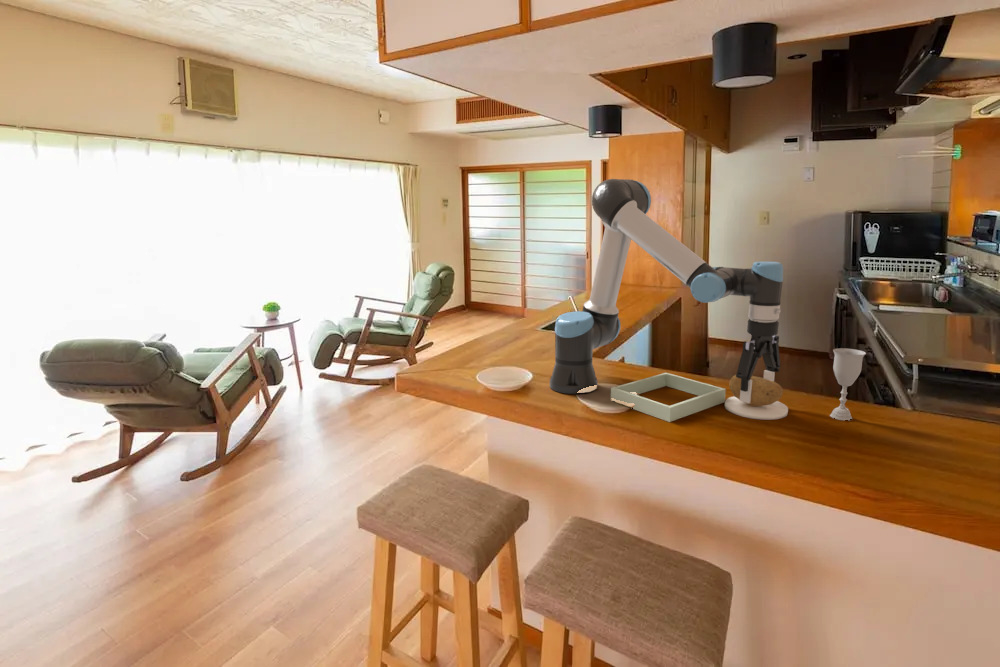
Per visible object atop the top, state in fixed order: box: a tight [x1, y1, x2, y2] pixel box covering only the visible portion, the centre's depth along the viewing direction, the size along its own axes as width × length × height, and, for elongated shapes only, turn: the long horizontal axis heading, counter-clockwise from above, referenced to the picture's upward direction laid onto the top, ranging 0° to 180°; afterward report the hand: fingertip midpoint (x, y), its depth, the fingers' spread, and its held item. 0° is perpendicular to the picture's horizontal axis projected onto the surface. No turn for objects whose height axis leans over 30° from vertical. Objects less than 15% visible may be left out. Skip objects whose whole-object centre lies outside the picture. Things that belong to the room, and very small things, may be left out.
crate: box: [610, 372, 727, 423], centre depth 160 cm, size 21×25×4 cm
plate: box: [724, 395, 789, 421], centre depth 153 cm, size 16×16×1 cm
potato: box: [728, 374, 784, 406], centre depth 152 cm, size 10×14×8 cm
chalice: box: [829, 347, 867, 421], centre depth 144 cm, size 7×7×18 cm
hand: (756, 397), depth 152 cm, fingers open, 11 cm apart
